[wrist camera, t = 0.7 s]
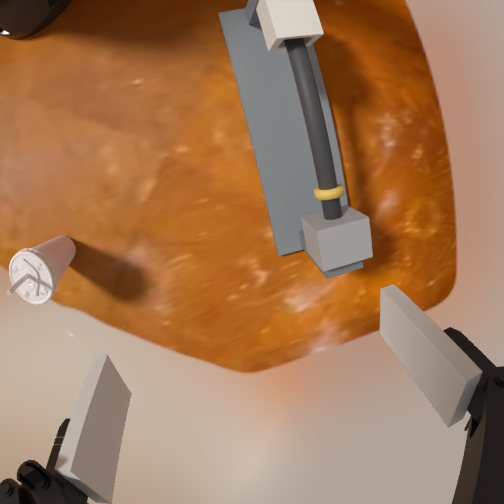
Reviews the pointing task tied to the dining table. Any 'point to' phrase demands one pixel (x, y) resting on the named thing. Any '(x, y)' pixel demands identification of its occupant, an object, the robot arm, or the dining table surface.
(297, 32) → the sleeve
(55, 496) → the robot arm
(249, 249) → the dining table surface
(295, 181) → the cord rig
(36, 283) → the smoothie
